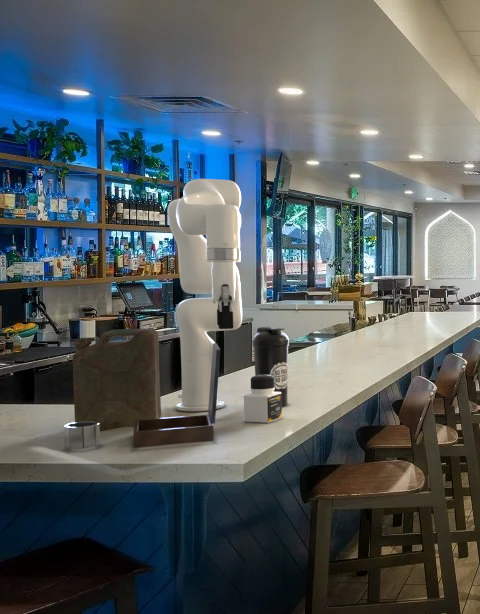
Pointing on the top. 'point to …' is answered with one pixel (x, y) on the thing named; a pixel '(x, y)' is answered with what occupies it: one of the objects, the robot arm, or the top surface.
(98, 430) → the grey octagonal hollow piece
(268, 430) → the top surface
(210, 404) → the lid
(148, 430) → the brown tray
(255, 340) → the water bottle
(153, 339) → the canister
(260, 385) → the medicine bottle
